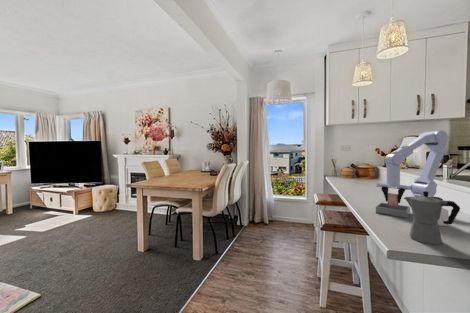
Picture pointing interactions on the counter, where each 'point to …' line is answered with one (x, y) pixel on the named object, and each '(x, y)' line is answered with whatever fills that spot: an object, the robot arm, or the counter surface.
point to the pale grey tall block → (442, 214)
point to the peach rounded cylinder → (392, 199)
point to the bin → (393, 210)
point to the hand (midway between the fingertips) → (392, 201)
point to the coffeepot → (429, 217)
